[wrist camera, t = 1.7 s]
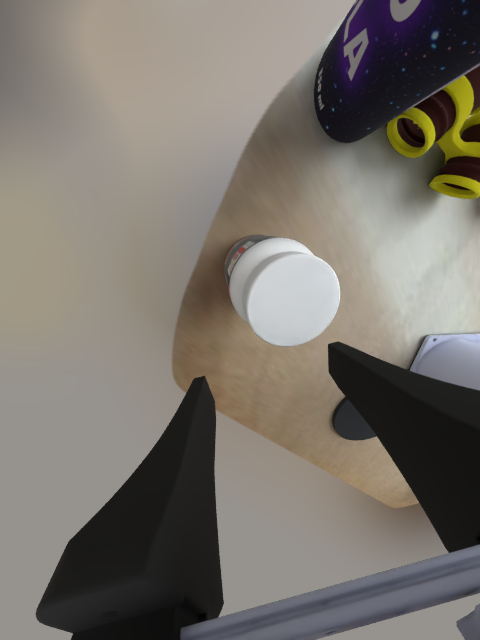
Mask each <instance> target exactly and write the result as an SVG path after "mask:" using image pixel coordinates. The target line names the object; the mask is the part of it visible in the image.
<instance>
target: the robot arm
mask: <svg viewBox="0 0 480 640" xmlns="http://www.w3.org/2000/svg"><path fill="white" fill-rule="evenodd" d="M328 365H329V373H330V375H331V377H332V378H333V380H334V381H335V383H336V384H337V386H338V388H339V389H340V390H341V391H342V393H343V394H344V395H345V396H346V398H347V399H348V400H349V401H350V402H351V404H352V405H353V406H354V407H355V409H356V410H357V411H358V412H359V413H360V415H361V416H362V417H363V418H364V420H365V421H366V422H367V423H368V425H369V426H370V427H371V429H372V430H373V431H374V433H375V434H376V436H377V437H378V439H379V440H380V441H381V443H382V444H383V446H384V447H385V449H386V450H387V452H388V453H389V455H390V456H391V458H392V460H393V461H394V463H395V464H396V466H397V467H398V469H399V470H400V472H401V473H402V475H403V477H404V478H405V480H406V482H407V483H408V485H409V486H410V488H411V490H412V491H413V493H414V494H415V496H416V498H417V499H418V501H419V503H420V504H421V506H422V508H423V509H424V511H425V513H426V515H427V516H428V518H429V520H430V521H431V523H432V525H433V527H434V528H435V530H436V531H437V533H438V535H439V537H440V539H441V541H442V542H443V544H444V546H445V548H446V549H447V551H448V552H449V553H448V554H444V555H441V556H437V557H433V558H430V559H426V560H423V561H419V562H416V563H412V564H409V565H405V566H401V567H398V568H394V569H390V570H387V571H383V572H380V573H376V574H373V575H369V576H365V577H362V578H358V579H355V580H351V581H347V582H344V583H340V584H337V585H334V586H330V587H326V588H323V589H319V590H315V591H312V592H308V593H304V594H301V595H298V596H294V597H290V598H287V599H283V600H279V601H276V602H272V603H269V604H265V605H261V606H258V607H255V608H251V609H247V610H244V611H240V612H237V613H233V614H229V615H226V616H222V617H218V616H219V614H220V612H221V610H222V607H223V604H224V601H223V591H222V579H221V568H220V556H219V543H218V529H217V514H216V499H215V476H214V460H215V434H216V433H215V432H216V412H215V401H214V398H213V396H212V393H211V391H210V388H209V385H208V383H207V380H206V378H205V376H202V377H198V378H194V380H193V381H192V383H191V385H190V387H189V389H188V391H187V393H186V395H185V397H184V399H183V401H182V403H181V404H180V406H179V408H178V410H177V412H176V413H175V415H174V417H173V418H172V420H171V422H170V423H169V425H168V426H167V428H166V430H165V431H164V433H163V434H162V436H161V437H160V439H159V440H158V442H157V443H156V445H155V446H154V447H153V449H152V450H151V451H150V453H149V454H148V455H147V457H146V458H145V459H144V460H143V461H142V463H141V464H140V465H139V466H138V468H137V469H136V470H135V472H134V473H133V474H132V475H131V476H130V477H129V479H128V480H127V481H126V482H125V483H124V484H123V486H122V487H121V488H120V489H119V490H118V491H117V492H116V493H115V494H114V496H113V497H112V498H111V499H110V500H109V501H108V502H107V503H106V504H105V505H104V506H103V507H102V508H101V510H99V512H98V513H97V514H96V515H95V516H94V517H93V518H92V519H91V520H90V521H89V522H88V523H87V524H86V525H85V526H84V527H83V528H82V529H81V530H80V531H79V532H78V533H77V534H76V535H75V536H74V537H73V538H72V539H71V540H70V541H69V542H68V544H67V546H66V548H65V550H64V552H63V554H62V556H61V559H60V561H59V563H58V565H57V567H56V569H55V571H54V574H53V576H52V578H51V580H50V582H49V584H48V587H47V588H46V591H45V593H44V595H43V597H42V599H41V601H40V603H39V605H38V608H37V611H36V617H37V619H38V621H39V622H40V623H43V624H45V625H47V626H50V627H54V628H57V629H60V630H64V631H67V632H71V633H73V636H72V638H71V640H316V639H319V638H323V637H326V636H330V635H333V634H336V633H340V632H344V631H347V630H351V629H354V628H358V627H362V626H365V625H369V624H372V623H376V622H379V621H382V620H386V619H390V618H393V617H397V616H400V615H404V614H407V613H410V612H414V611H418V610H421V609H425V608H428V607H432V606H436V605H439V604H443V603H446V602H449V601H453V600H457V599H460V598H463V597H467V596H471V595H474V594H478V593H480V333H472V334H449V335H429V336H427V337H426V338H425V339H424V341H423V344H422V346H421V348H420V350H419V352H418V354H417V356H416V358H415V360H414V362H413V364H412V366H411V368H410V370H406V369H403V368H401V367H398V366H396V365H393V364H390V363H388V362H385V361H383V360H380V359H378V358H375V357H373V356H371V355H368V354H366V353H364V352H362V351H359V350H357V349H355V348H353V347H350V346H348V345H346V344H343V343H341V342H335V343H331V344H328ZM457 627H458V629H459V630H460V632H461V633H462V635H463V637H464V639H465V640H480V604H479V605H477V606H476V607H475V610H474V611H472V612H471V613H470V614H468V615H467V616H465V617H463V618H462V619H460V620H458V621H457Z"/></svg>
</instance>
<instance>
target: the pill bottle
mask: <svg viewBox="0 0 480 640" xmlns="http://www.w3.org/2000/svg"><path fill="white" fill-rule="evenodd" d="M224 275H225V279H226V283H227V287H228V290H229V294H230V298H231V301H232V303H233V306H234V308H235V310H236V311H237V313H238V314H239V315H240V316H241V317H242V318H243V319H244V320H245V321H246V322H247V323H249V325H250V327H251V328H252V330H253V331H254V332H255V334H256V335H257V336H258V337H260V338H261V339H262V340H264V341H266V342H267V343H270V344H273V345H276V346H296V345H300V344H303V343H306V342H308V341H310V340H312V339H313V338H315V337H316V336H318V335H319V334H320V333H322V332H323V331H324V330H325V329H326V327H327V326H328V325H329V324H330V322H331V321H332V319H333V318H334V316H335V314H336V311H337V309H338V305H339V301H340V287H339V281H338V278H337V276H336V274H335V272H334V271H333V269H332V268H331V267H330V266H329V265H328V264H327V263H326V262H325V261H323V260H322V259H320V258H318V257H316V256H314V255H313V254H312V252H311V251H310V250H309V249H308V248H307V247H305V246H304V245H302V244H301V243H299V242H297V241H295V240H292V239H288V238H282V237H272V236H264V235H251V236H247V237H244V238H242V239H240V240H239V241H237V242H236V243H235V244H234V245H233V246H232V247H231V249H230V250H229V252H228V254H227V256H226V259H225V263H224Z"/></svg>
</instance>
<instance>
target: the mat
mask: <svg viewBox="0 0 480 640" xmlns="http://www.w3.org/2000/svg"><path fill="white" fill-rule="evenodd" d="M333 427H334V429H335V430H336V432H337V433H338V434H339V435H340V436H341V437H343V438H345V439H349V440H365V439H369V438H373V437H376V434H375V433H374V431H373V430H372V429H371V427H370V426H369V425H368V423H367V422H366V421H365V420H364V418H363V417H362V416H361V415H360V413H359V412H358V411H357V410H356V409H355V407H354V406H353V405H352V404H351V402H350V401H349V400H348V399H347V398H346V397H345V398H344V399H343V400H342V402H341V403H340V404H339V405H338V407H337V408H336V410H335V412H334V415H333Z"/></svg>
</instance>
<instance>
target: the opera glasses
mask: <svg viewBox="0 0 480 640" xmlns="http://www.w3.org/2000/svg"><path fill="white" fill-rule="evenodd" d="M473 114H474V115H473ZM469 115H472V116H471V117H469V118H468V116H469ZM467 118H468V119H467ZM464 121H465V122H464ZM459 134H460V136H461V137H460V136H459ZM387 135H388V139H389V141H390V143H391V145H392V146H393V147H394V148H395V150H396V151H398V152H399V153H400V154H402V155H404V156H406V157H410V158H417V157H419V156H422V155H423V154H424V153H425V152H426V151H427V150H428V149H429V148H430V147H431V146H432V145H433V143H434V142H435V143H437V144H438V145H439V147H440V148H441V149H442V150H443V151H444V153H445V166H443V167H442V168H441V169H440V175H439V176H436V177H435V178H434V179H433V180H432V181H431V183H430V187H431V188H432V189H434V190H435V191H437V192H439V193H442V194H445V195H448V196H452V197H456V198H462V199H475V198H478V197H479V196H480V66H478V67H476V68H475V69H473V70H472V71H470V72H468V73H467V74H465V75H464V76H462V77H460V78H459V79H457V80H455V81H454V82H452V83H451V84H449V85H447V86H446V87H444V88H443V89H441V90H439V91H438V92H436V93H435V94H433V95H431V96H430V97H428V98H427V99H425V100H423V101H422V102H420V103H418V104H417V105H415V106H414V107H412V108H410V109H409V110H407V111H406V112H404V113H402V114H401V115H399V116H398V117H396V118H394V119H393V120H391V121H389V122H388V125H387Z"/></svg>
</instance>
